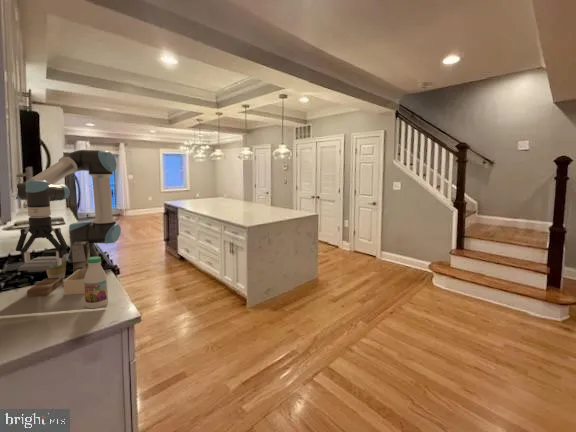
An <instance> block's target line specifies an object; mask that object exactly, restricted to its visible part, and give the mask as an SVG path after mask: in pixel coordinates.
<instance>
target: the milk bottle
mask: <svg viewBox="0 0 576 432" xmlns="http://www.w3.org/2000/svg"><path fill="white" fill-rule="evenodd" d="M87 262H88V270H87V272H86V274H85V278H84V288H85V294H84V300H85V301H84V302H85V307H86V308H87V309H88V308H89V309H88V310H95V309H94V308H100V307H104V306H105V305H107V304H108V303H109V296H108V295H109V293H108V292H109V291H108V281H107V279H108V278H107V275H106V272H105V270H104V268H103V266H102V258H101V256H98V257H90V258H88V259H87Z"/></svg>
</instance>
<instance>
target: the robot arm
mask: <svg viewBox="0 0 576 432" xmlns="http://www.w3.org/2000/svg"><path fill="white" fill-rule="evenodd" d="M116 169H117V161H116V157H115V156H114V154H113V153H112V152H111V151H109V150H103V149H101V150H98V149H97V150H96V149H94V150H92V149H79V150H76V151H75V150H74V151H72V152H69V153H67V154H65V155H64V156H61V157H60V158H59V159H58V162H56V163H54V164H53V165H51V166H49V167H48V168H45V170H43V171H40V172H39V173H38V174H36V175H35V176H33V177H31V178H29V179H27V180H25V181H24V182H17V183H18V184H17V188H18V194H17V197H16V199H15V200H21V201H26V203H27V204H26V205H27V214H28V215H27V216H29V217H28V219H27V220H28V226H29V227H28V228H26V227H24V228H21V229H20V230H19V231H20V236H19V238H18V242H17V245H16V248H15V252H20V253H21V258H22V259H21V260H24V264H25V263H26V262H29V261H31V253H30V252H31V251H30V250H29V249H30V247H31V246H32V244H33V243H34V242H35V240H36V239H47V240H48V241H49V242H50V243H51V245H52V246H54V247H53V248H56V249H57V250H58V251H56V258H57V266H60V265H61V264H62V259H61V258H63V256H64V255H63V250H65V249H66V250H67V249H69V246H68V244H67V242H66V240H65V238H64V237H63V233H62V231H61V230H62V228H61V227H53V226H52V217H51V215H52V213H51V202H57V201H64V200H66V199H68V198H69V197H70V194H71V191H70V188H69V187H68V186H67V185H66V184H63V183H58V182H60V181H61V180H62V179H64V178H65V177H67V176H68V175H70V174H75V173H76V172H81V171H84V172H85V171H86V172H88V175H89V176H90V177H91V178H92V180H91V181H92V189H93V190H92V192H93V203H94V214H95V215H94V216H95V219H94V220H83V221H77V222H72V223H70V224H69V226H68V232H69V233H68V234H69V245H70V250H69V252H68V254H67V263H69V264H73V258H72V245H73V244H74V243H75V242H81V241H89V248H90V257H99V254H98V251H97V250H96V247H95V244H105V245H109V244H115V243H116V242H117V241H118V240H119V238H120V236H121V232H122V228H121V226H120V224H118V223H117V220H116V219H114V218H113V205H112V191H111V189H112V188H111V176H112V175H113V172H115V171H116ZM29 233H30V234H31V235H30V237H29V238H28V239H27V241H26V238H27V236H28V234H29ZM53 233H54V234H53ZM54 235H55V236H56V238H55V237H54ZM25 242H26V243H25Z"/></svg>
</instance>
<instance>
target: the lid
mask: <svg viewBox="0 0 576 432" xmlns="http://www.w3.org/2000/svg"><path fill="white" fill-rule="evenodd" d="M61 259H62V261H64V260H65V259H66V260H67V255H66V256H63V258H61ZM56 265H57V258H56V256H48V257H43V256H37V257H35V258H32V259H30V261H29V262H26V263H25V262H24V263H23V264H22V265H20V266H18V267H17V268H18V269H17V271H20V272H22V271H27V272H28V273H35V272H45V271H46V269H51V268H53V267H54V266H56Z"/></svg>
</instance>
